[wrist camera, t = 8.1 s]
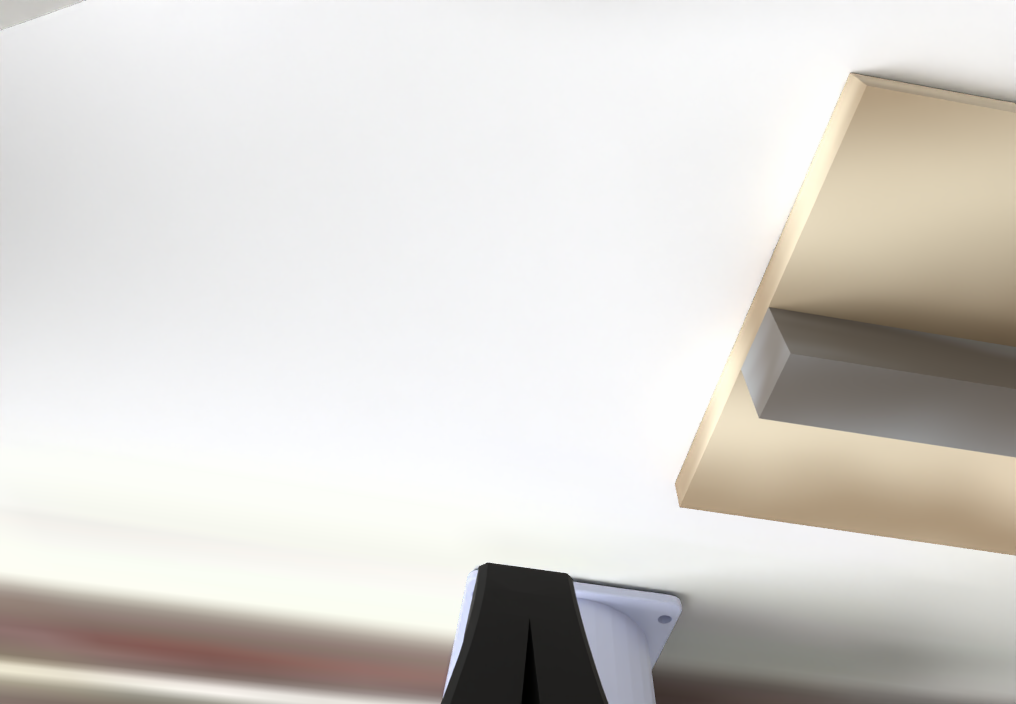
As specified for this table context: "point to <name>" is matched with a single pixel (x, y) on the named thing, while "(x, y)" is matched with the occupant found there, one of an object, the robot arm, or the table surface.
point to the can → (28, 10)
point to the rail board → (891, 266)
